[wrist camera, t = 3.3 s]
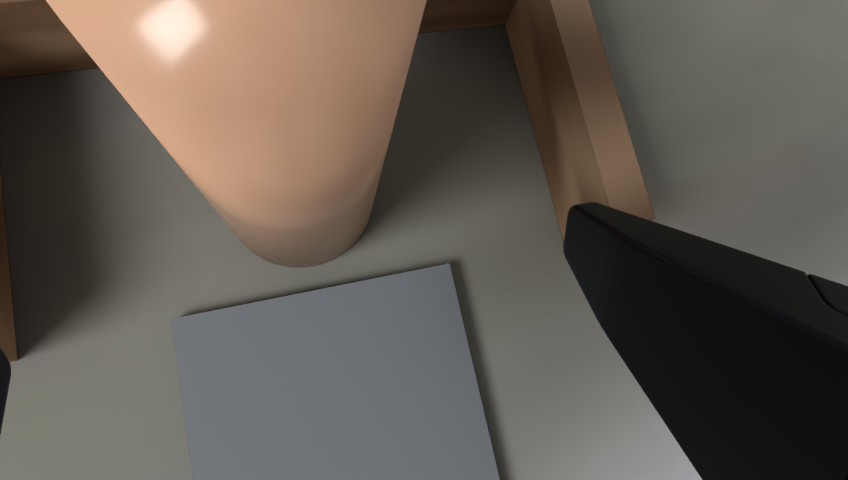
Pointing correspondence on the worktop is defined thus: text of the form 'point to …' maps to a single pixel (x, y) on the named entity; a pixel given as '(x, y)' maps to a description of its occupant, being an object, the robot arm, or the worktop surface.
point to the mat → (336, 385)
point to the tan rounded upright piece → (264, 104)
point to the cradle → (445, 10)
